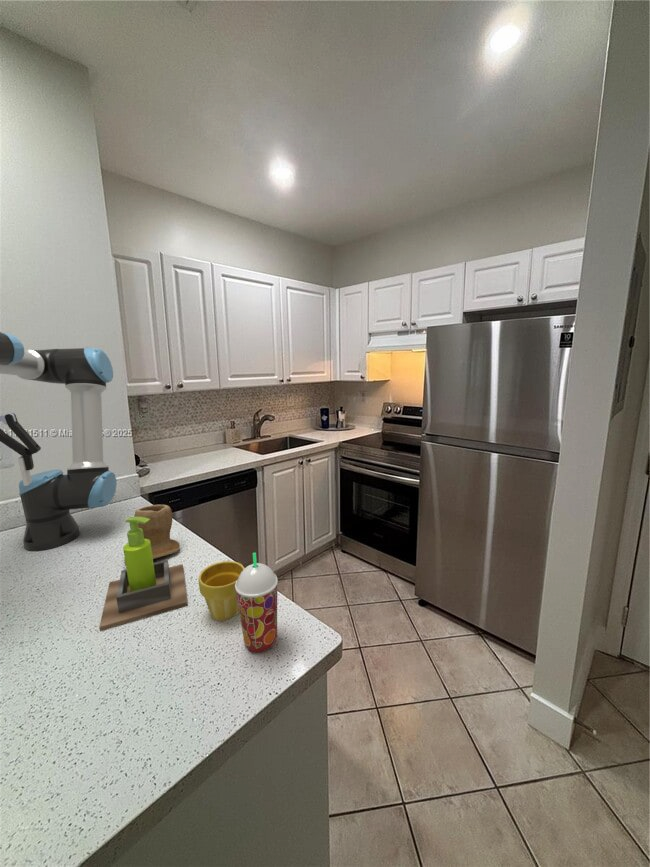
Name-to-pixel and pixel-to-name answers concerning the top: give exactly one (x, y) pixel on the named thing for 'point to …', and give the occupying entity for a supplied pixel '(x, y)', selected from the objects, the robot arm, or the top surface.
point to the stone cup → (158, 529)
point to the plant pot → (221, 588)
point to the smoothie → (257, 605)
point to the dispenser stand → (144, 596)
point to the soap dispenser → (138, 556)
